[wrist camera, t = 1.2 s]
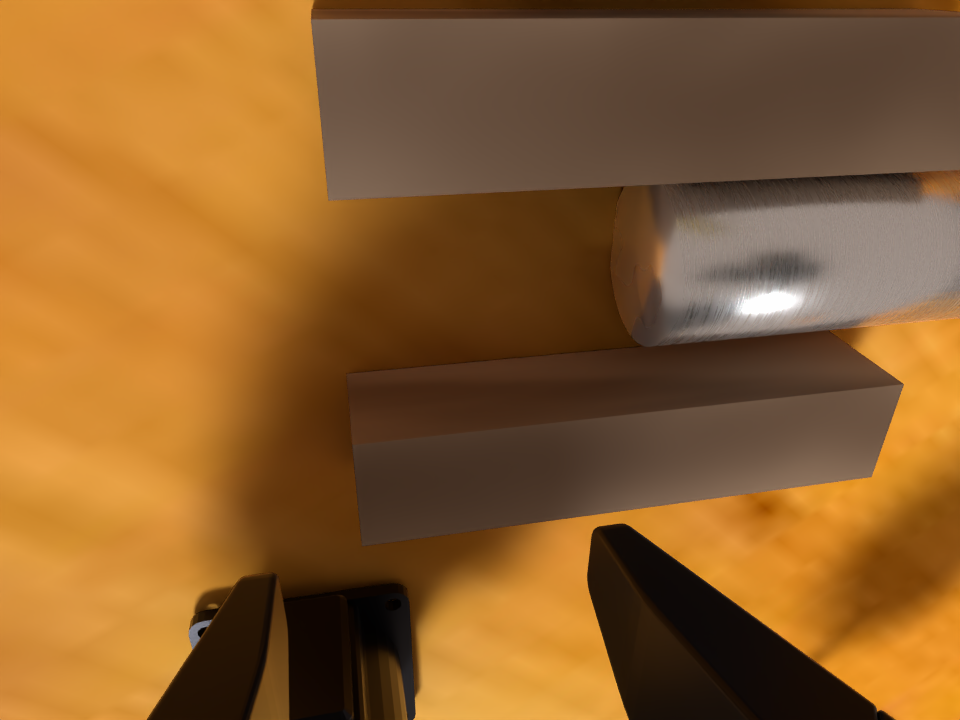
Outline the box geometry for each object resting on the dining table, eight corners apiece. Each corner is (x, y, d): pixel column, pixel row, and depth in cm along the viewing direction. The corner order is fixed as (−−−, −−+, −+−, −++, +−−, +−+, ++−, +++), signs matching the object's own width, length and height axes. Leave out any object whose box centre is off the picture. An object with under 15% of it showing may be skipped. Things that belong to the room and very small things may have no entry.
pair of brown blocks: (803, 414, 22) (871, 477, 20) (355, 466, 20) (362, 546, 17) (914, 8, 17) (1032, 16, 14) (311, 8, 14) (311, 19, 12)
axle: (948, 161, 20) (1095, 150, 16) (934, 302, 21) (1070, 325, 17) (609, 176, 18) (682, 168, 14) (610, 331, 19) (680, 362, 15)
